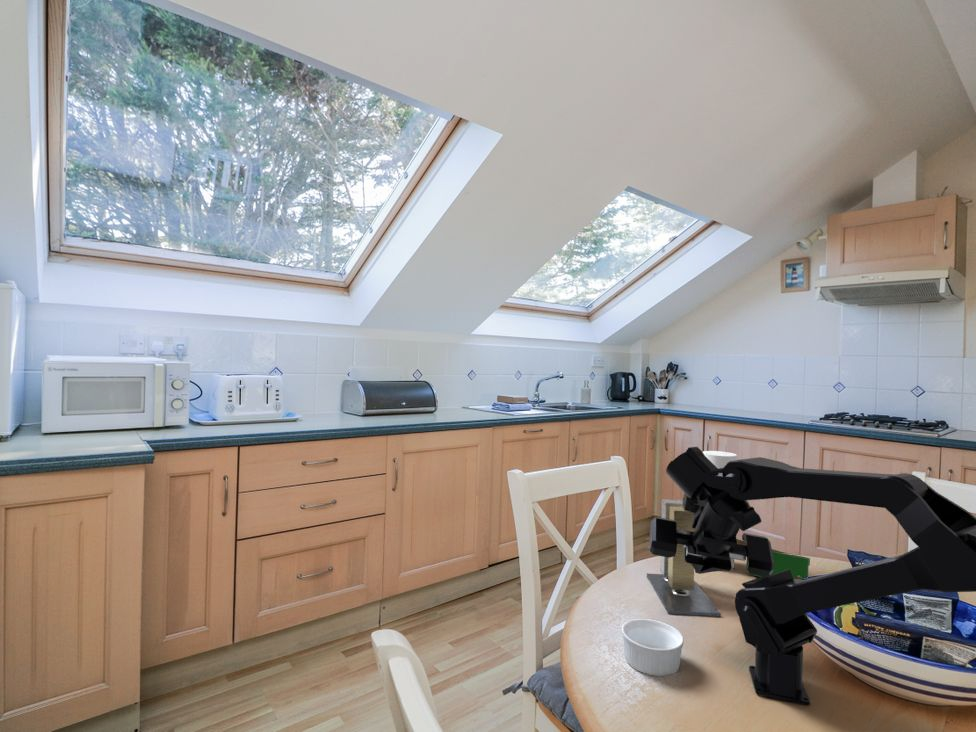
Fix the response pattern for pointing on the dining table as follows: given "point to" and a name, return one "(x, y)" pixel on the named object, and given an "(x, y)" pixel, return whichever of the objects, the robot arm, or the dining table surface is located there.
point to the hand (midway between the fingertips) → (697, 570)
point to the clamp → (790, 564)
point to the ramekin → (652, 646)
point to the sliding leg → (681, 554)
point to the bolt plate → (673, 598)
